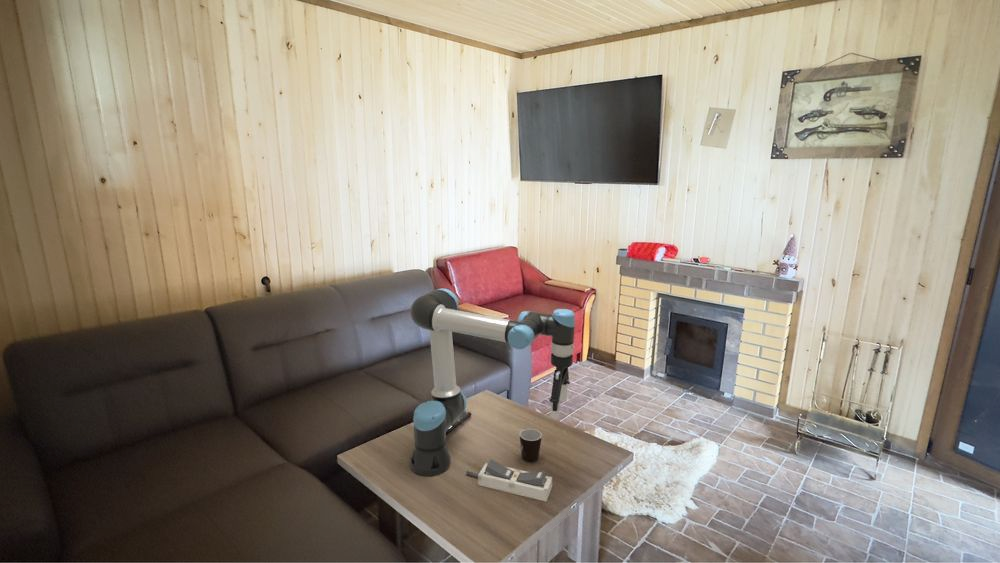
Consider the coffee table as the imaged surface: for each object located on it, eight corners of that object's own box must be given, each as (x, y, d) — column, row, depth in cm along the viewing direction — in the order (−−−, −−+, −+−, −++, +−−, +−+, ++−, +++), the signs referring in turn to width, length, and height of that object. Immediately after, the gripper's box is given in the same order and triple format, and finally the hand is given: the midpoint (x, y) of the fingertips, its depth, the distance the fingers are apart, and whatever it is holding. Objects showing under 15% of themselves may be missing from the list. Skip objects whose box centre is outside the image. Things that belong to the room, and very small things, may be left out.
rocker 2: (518, 485, 164) (516, 480, 163) (522, 477, 168) (520, 472, 168) (542, 484, 160) (540, 478, 160) (546, 476, 164) (544, 470, 164)
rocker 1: (484, 470, 167) (486, 466, 166) (489, 463, 171) (491, 458, 171) (507, 483, 165) (509, 478, 164) (511, 475, 169) (513, 470, 169)
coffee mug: (539, 465, 179) (540, 441, 177) (517, 462, 181) (517, 439, 178) (543, 448, 190) (543, 426, 188) (522, 445, 192) (522, 423, 189)
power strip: (462, 481, 169) (462, 469, 168) (471, 468, 177) (471, 456, 176) (546, 501, 159) (546, 489, 158) (552, 487, 167) (552, 475, 165)
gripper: (565, 368, 151) (562, 428, 156) (578, 343, 174) (575, 395, 179) (542, 365, 153) (540, 424, 158) (558, 340, 176) (556, 392, 181)
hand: (558, 409), depth 169 cm, fingers open, 13 cm apart
